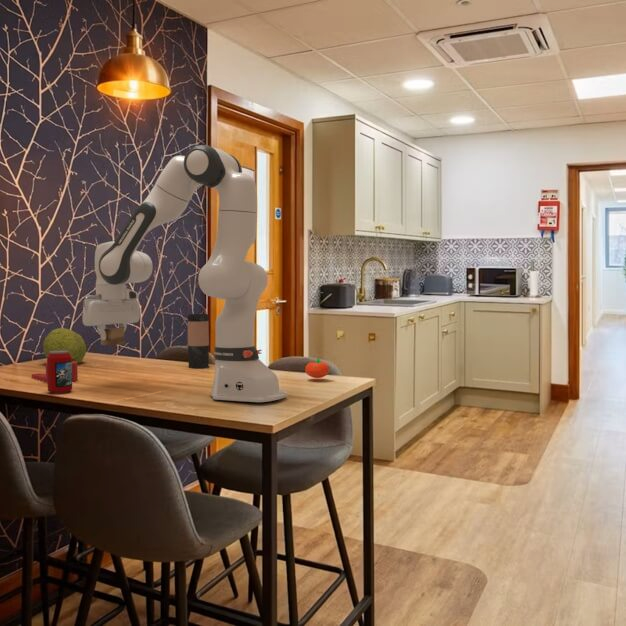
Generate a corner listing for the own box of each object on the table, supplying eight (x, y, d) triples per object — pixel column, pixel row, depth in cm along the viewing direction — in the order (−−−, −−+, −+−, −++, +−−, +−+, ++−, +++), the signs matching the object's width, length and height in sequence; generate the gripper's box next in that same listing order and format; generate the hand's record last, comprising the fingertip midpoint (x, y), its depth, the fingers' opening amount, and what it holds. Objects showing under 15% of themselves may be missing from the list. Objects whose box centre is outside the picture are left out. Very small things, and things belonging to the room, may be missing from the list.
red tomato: (307, 375, 229) (307, 356, 229) (330, 376, 228) (330, 357, 227) (302, 378, 222) (302, 359, 222) (326, 379, 221) (326, 360, 220)
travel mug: (213, 368, 249) (212, 314, 248) (199, 370, 242) (198, 315, 241) (197, 366, 253) (197, 313, 252) (183, 369, 247) (182, 314, 246)
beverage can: (64, 394, 193) (63, 352, 192) (42, 393, 194) (41, 352, 194) (77, 390, 200) (76, 350, 199) (56, 390, 201) (55, 349, 200)
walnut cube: (124, 344, 210) (124, 327, 210) (112, 345, 206) (111, 329, 205) (113, 343, 212) (112, 327, 212) (100, 345, 208) (100, 328, 208)
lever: (84, 382, 216) (83, 362, 216) (60, 386, 208) (59, 365, 208) (46, 378, 225) (45, 358, 225) (21, 382, 217) (21, 361, 217)
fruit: (76, 371, 241) (75, 329, 240) (36, 371, 241) (35, 329, 240) (91, 365, 257) (91, 326, 256) (54, 365, 257) (53, 326, 256)
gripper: (91, 295, 198) (93, 342, 198) (142, 293, 215) (143, 336, 216) (76, 295, 201) (78, 341, 202) (128, 293, 219) (129, 336, 219)
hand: (112, 339), depth 209 cm, fingers closed on walnut cube, 5 cm apart
